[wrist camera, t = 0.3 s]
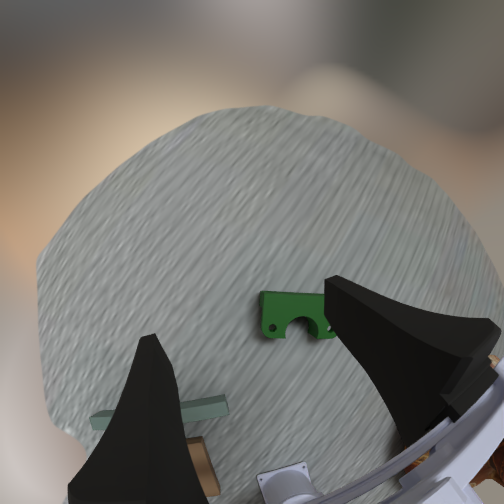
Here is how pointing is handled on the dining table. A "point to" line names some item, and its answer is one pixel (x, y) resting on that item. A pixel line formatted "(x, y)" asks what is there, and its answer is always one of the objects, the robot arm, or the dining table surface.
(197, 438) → the square frame
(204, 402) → the wall
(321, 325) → the clamp
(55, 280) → the dining table surface
